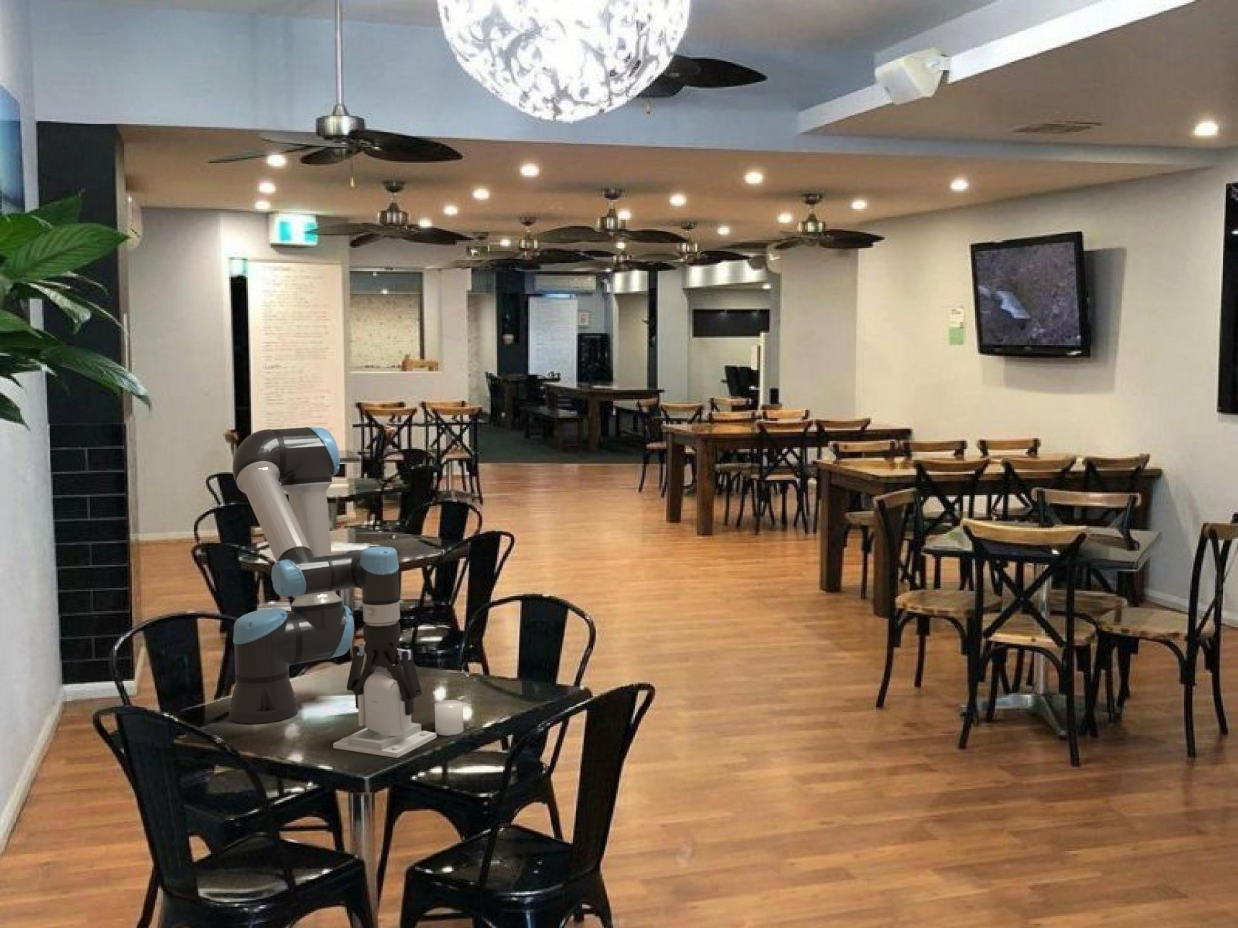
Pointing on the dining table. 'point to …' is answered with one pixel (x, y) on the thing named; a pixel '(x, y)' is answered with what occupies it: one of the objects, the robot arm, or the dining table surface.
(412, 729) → the dock plate
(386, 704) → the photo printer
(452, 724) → the white rounded cylinder
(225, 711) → the dining table surface
